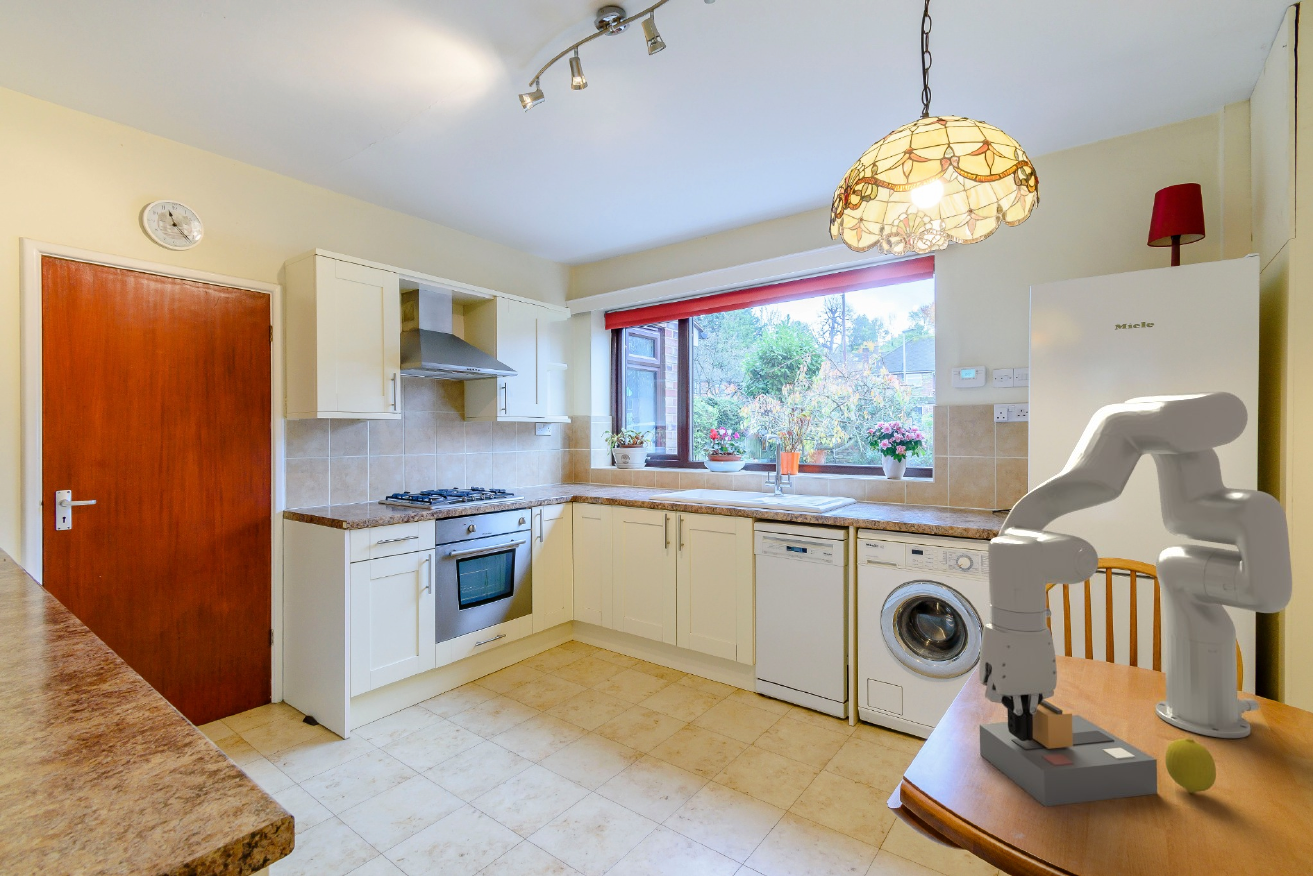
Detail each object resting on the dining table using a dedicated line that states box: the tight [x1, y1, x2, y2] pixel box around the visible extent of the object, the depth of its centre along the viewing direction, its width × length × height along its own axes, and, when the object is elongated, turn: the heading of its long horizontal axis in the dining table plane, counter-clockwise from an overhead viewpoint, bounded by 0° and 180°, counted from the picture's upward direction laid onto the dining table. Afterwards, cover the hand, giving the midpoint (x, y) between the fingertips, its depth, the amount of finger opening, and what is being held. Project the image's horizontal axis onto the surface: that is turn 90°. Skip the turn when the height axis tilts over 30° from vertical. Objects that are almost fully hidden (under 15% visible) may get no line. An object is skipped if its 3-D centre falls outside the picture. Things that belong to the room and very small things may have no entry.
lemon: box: [1164, 737, 1217, 794], centre depth 88 cm, size 6×6×8 cm
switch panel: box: [979, 714, 1158, 807], centre depth 94 cm, size 18×14×5 cm
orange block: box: [1033, 698, 1073, 749], centre depth 93 cm, size 4×5×6 cm
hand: (1020, 736), depth 93 cm, fingers closed
